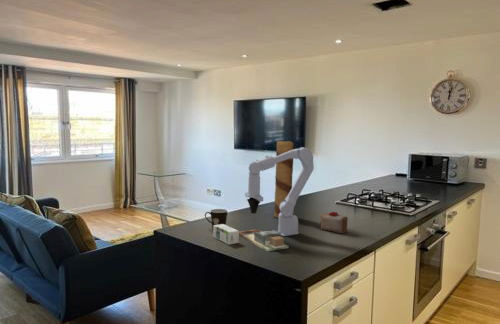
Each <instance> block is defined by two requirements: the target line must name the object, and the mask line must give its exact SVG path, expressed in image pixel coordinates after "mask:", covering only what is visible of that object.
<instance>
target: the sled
mask: <svg viewBox="0 0 500 324" xmlns="http://www.w3.org/2000/svg"><path fill="white" fill-rule="evenodd" d="M267 231H268V230H267ZM267 231H266V230H265V231H264V232H267ZM284 243H285V239H284V237H282V236H281V237H280V236H276V237H271V236H266V237H265V244H267V245H269V246H270V247H272V248H274V249H275V248H281V247H284Z"/></svg>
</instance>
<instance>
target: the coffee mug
mask: <svg viewBox="0 0 500 324" xmlns="http://www.w3.org/2000/svg"><path fill="white" fill-rule="evenodd" d="M228 211H229V210H227V209H226V208H225V209H224V208H215V209H211V210H210V211H207V212H205V213H204V218H205V219H206V220H207V221H208V222H209V223H210V224H211V226H212V230H213V225H218V224H224V225H227V220H228ZM207 214H209V215H210V218H211V220H210V219H208V217H207Z"/></svg>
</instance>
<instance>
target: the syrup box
mask: <svg viewBox="0 0 500 324" xmlns="http://www.w3.org/2000/svg"><path fill="white" fill-rule="evenodd" d="M212 232H213V233H212V234H213V238H215V239H216V240H219V241H221V242H223V243H224V244H227V245H235V244H239V243H240V241H239V239H240V236H239V232H240V231H239V230H238V229H236V228H233V227H231V226H228V225H227V224H226V225H224V224H218V225H213V229H212Z"/></svg>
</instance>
